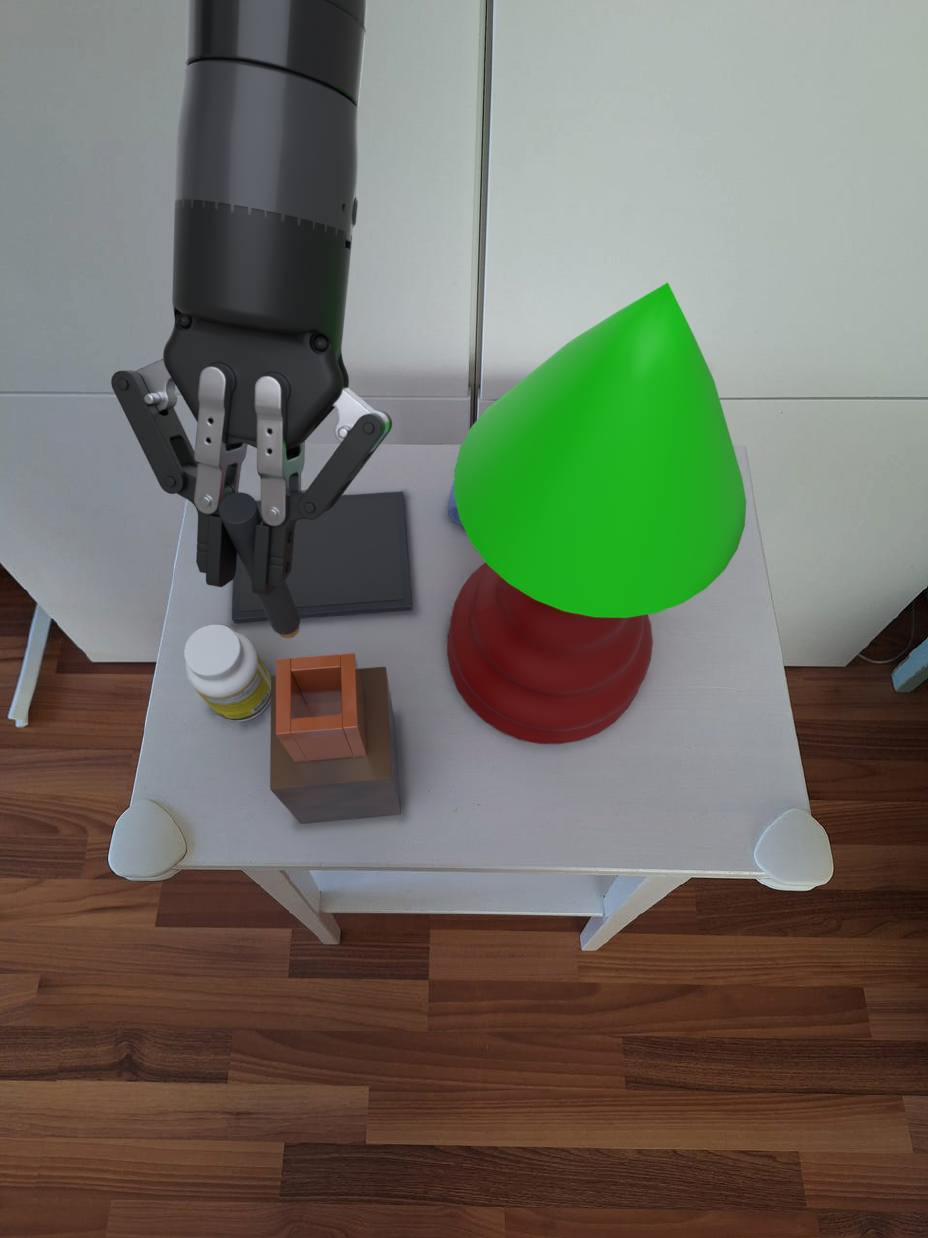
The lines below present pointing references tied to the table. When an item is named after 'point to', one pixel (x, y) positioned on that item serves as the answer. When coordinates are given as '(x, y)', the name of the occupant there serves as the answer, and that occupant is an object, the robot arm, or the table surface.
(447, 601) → the table surface
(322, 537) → the tablet
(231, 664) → the pill bottle
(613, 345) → the table lamp
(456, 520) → the decorative dice
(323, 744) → the pen cup
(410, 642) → the table surface
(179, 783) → the table surface
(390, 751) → the stand
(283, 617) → the stylus
